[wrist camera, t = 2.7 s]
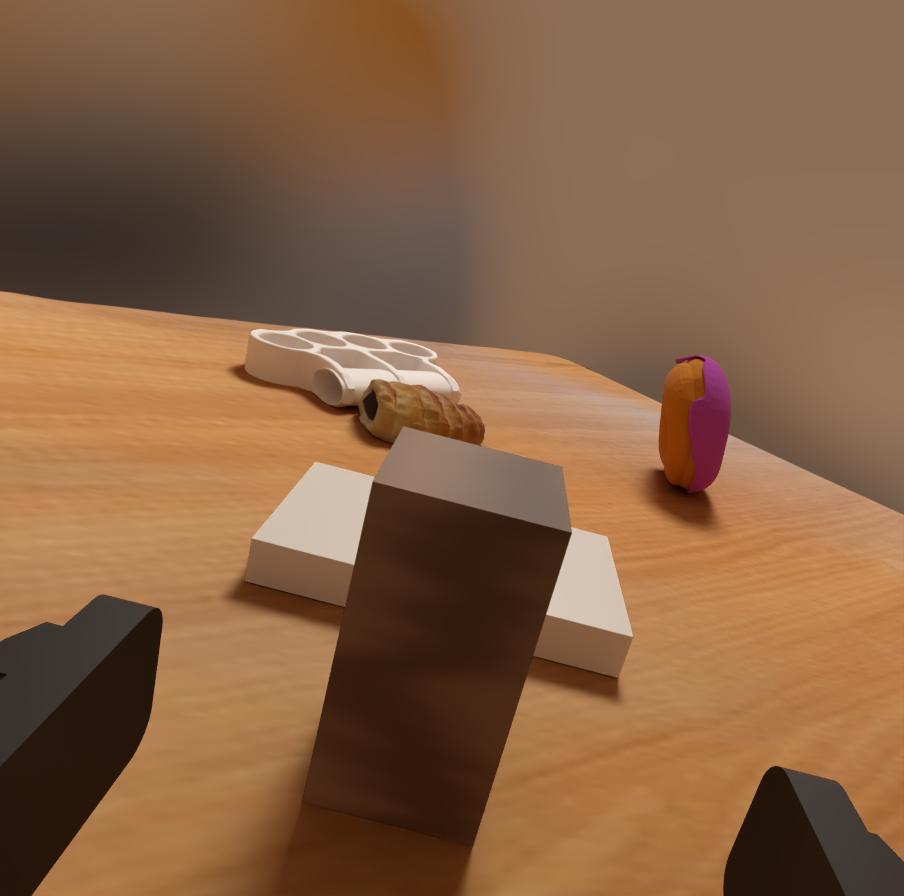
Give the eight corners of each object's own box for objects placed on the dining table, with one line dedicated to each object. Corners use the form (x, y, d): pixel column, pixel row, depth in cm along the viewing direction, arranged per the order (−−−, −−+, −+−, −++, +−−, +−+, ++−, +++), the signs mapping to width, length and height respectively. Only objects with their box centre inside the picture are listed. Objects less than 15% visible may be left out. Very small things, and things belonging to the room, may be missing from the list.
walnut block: (301, 801, 22) (372, 481, 19) (342, 695, 26) (403, 426, 23) (472, 846, 22) (572, 532, 18) (481, 731, 26) (561, 467, 23)
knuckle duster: (300, 417, 55) (218, 356, 65) (483, 416, 66) (389, 364, 76) (309, 372, 53) (223, 317, 64) (492, 379, 65) (396, 332, 75)
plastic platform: (244, 580, 32) (251, 538, 31) (309, 495, 41) (315, 461, 41) (618, 678, 31) (633, 636, 31) (596, 569, 41) (607, 536, 40)
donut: (742, 496, 61) (789, 377, 58) (688, 510, 54) (736, 376, 51) (658, 457, 66) (697, 346, 63) (598, 466, 59) (638, 342, 56)
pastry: (463, 428, 61) (474, 383, 60) (495, 461, 55) (508, 412, 54) (349, 414, 57) (359, 366, 56) (371, 448, 51) (382, 395, 50)
